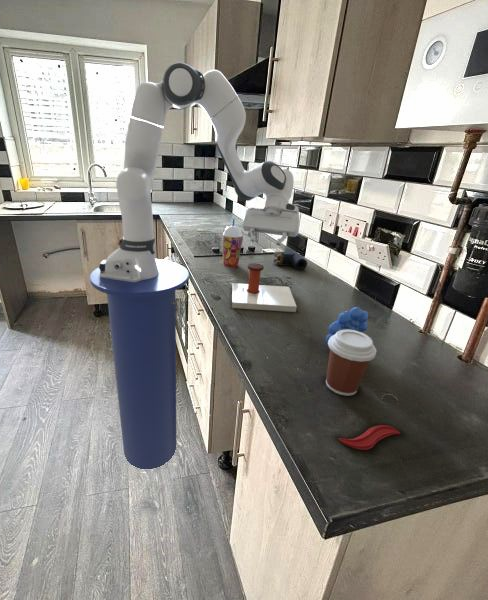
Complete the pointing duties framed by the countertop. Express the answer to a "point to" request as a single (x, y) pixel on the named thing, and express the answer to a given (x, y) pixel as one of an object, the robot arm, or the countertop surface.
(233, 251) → the smoothie
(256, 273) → the stopper
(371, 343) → the coffee cup
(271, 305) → the sink floor
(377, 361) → the countertop surface
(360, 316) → the grapes
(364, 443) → the cayenne pepper
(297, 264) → the pipe connector
